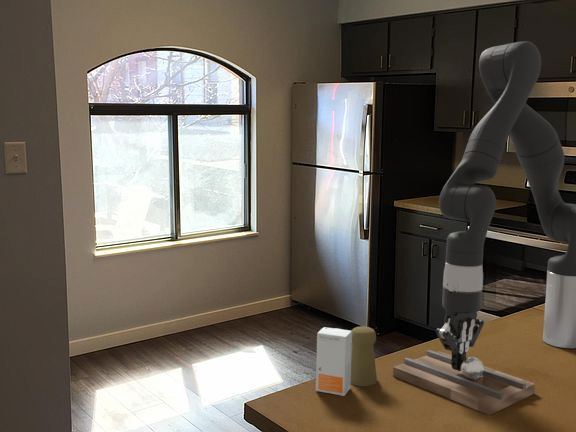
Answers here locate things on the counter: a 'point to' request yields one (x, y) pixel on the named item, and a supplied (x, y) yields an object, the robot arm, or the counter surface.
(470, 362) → the steel ball
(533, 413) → the counter surface
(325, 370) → the skincare box
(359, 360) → the olive knob stopper
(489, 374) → the walnut channel
